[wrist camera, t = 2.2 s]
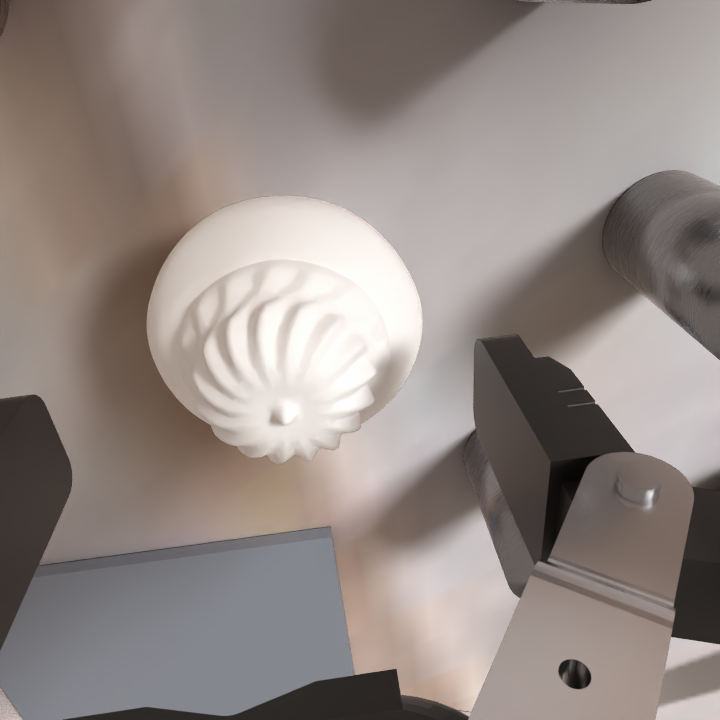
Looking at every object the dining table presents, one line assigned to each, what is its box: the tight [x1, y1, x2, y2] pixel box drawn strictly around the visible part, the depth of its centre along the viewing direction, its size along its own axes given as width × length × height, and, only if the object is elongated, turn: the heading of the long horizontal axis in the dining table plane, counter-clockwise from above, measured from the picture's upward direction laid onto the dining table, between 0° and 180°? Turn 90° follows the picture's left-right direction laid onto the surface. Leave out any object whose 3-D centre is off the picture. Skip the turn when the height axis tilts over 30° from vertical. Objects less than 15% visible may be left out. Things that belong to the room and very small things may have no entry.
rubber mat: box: [0, 527, 355, 720], centre depth 25 cm, size 14×14×1 cm
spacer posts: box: [0, 0, 720, 598], centre depth 14 cm, size 24×22×5 cm
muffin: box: [147, 195, 423, 464], centre depth 14 cm, size 6×6×7 cm
